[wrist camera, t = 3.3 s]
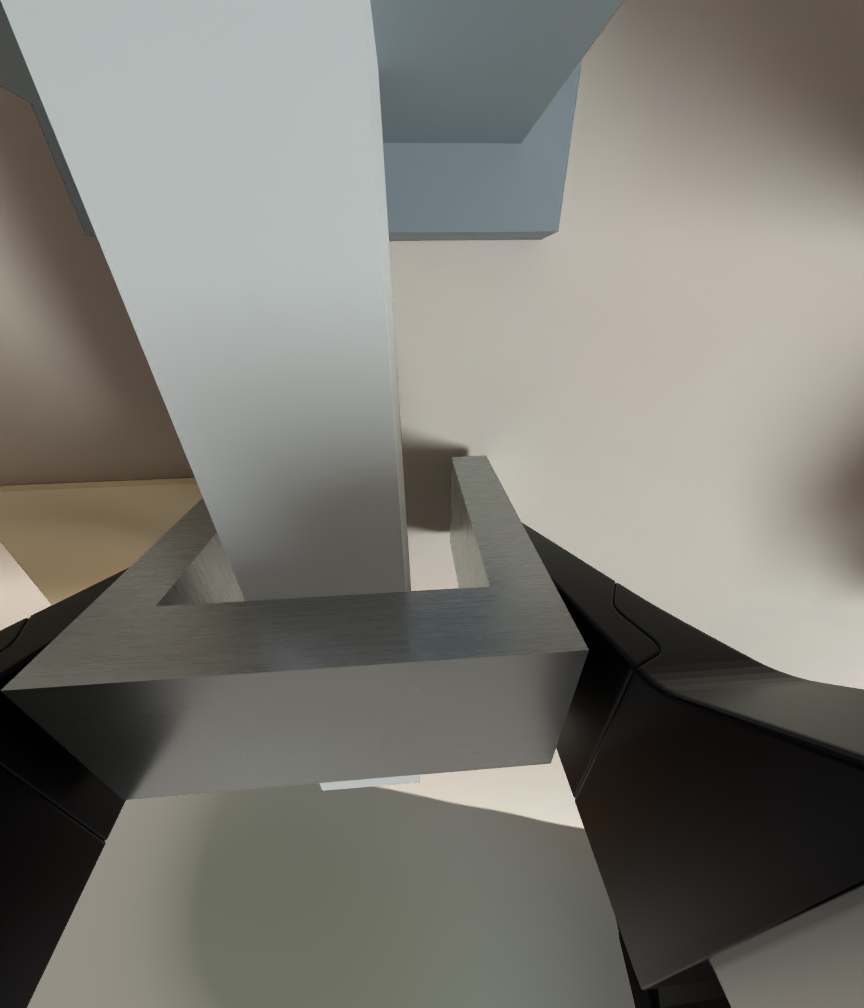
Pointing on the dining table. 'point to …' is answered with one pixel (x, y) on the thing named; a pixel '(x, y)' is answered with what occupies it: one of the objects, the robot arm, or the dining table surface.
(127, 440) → the dining table surface
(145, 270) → the bar
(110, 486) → the mat
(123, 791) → the square metal frame
